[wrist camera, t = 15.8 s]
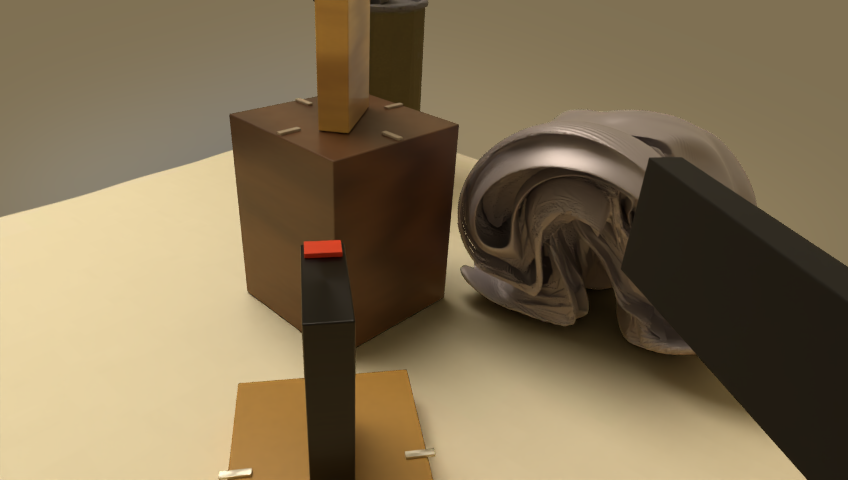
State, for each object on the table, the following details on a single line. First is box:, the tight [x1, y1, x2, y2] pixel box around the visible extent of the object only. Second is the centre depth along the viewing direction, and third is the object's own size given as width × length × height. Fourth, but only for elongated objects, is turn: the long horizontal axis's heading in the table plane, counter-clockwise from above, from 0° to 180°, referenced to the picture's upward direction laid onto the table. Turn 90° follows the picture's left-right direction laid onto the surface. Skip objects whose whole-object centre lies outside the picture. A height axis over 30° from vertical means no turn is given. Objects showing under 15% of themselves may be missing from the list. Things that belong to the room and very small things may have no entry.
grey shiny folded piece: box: [457, 109, 757, 355], centre depth 40 cm, size 20×18×15 cm
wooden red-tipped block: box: [315, 0, 370, 133], centre depth 35 cm, size 6×2×9 cm, turn 172°
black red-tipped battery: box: [300, 240, 356, 480], centre depth 25 cm, size 6×2×10 cm, turn 10°
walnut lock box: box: [230, 94, 459, 348], centre depth 40 cm, size 10×10×13 cm
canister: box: [313, 0, 428, 111], centre depth 58 cm, size 11×10×20 cm
